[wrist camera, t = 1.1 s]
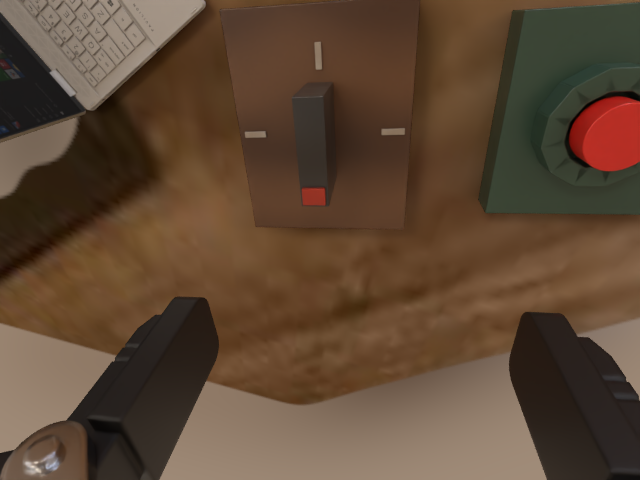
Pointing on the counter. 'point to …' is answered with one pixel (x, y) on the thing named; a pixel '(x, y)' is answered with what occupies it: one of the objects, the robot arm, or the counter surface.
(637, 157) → the red button
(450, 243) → the counter surface
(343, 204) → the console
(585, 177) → the button block
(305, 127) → the grip knob
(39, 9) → the laptop
